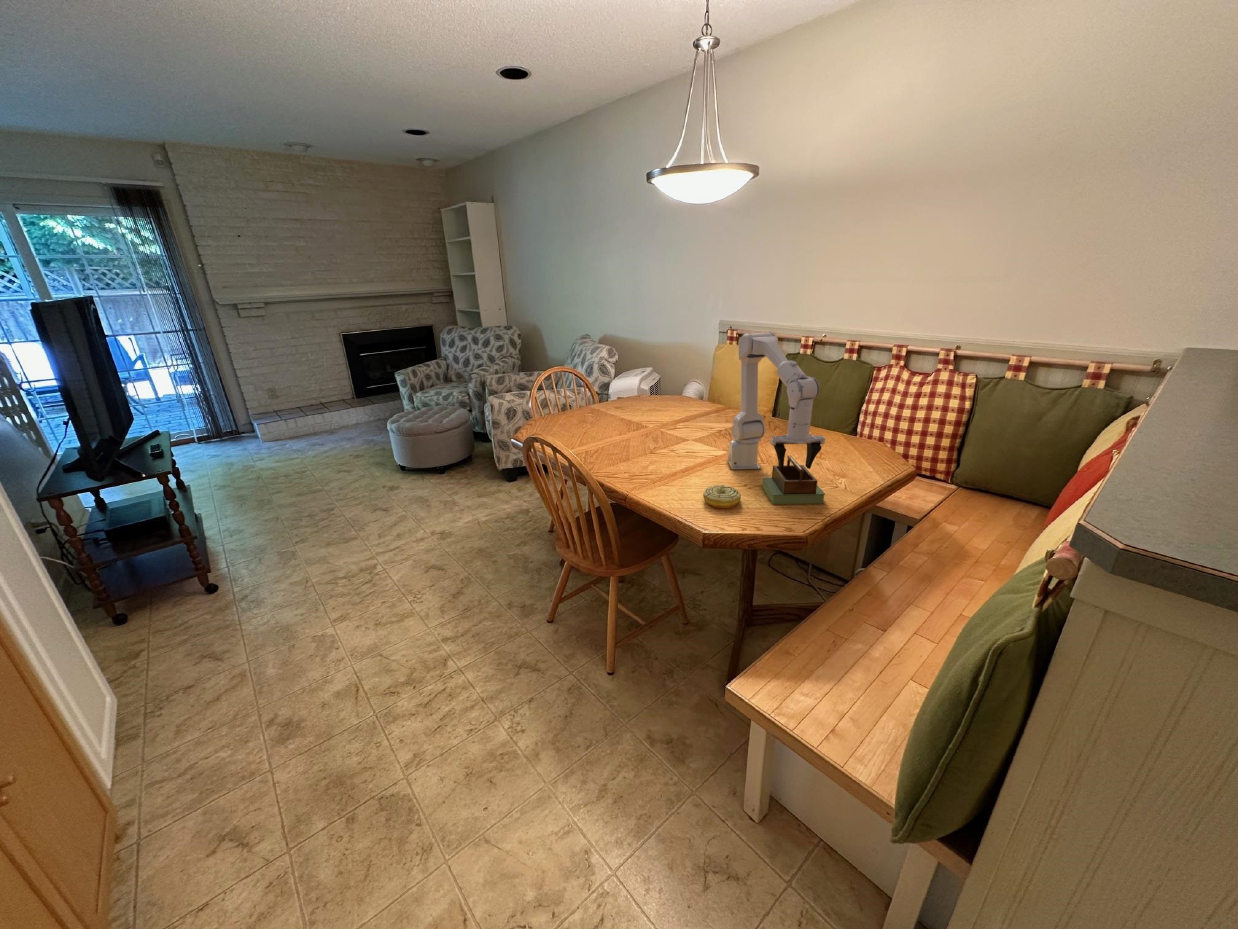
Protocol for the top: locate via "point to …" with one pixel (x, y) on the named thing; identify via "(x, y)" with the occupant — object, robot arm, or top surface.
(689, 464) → the top surface
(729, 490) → the decorated donut
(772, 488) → the green flat block
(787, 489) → the basket
